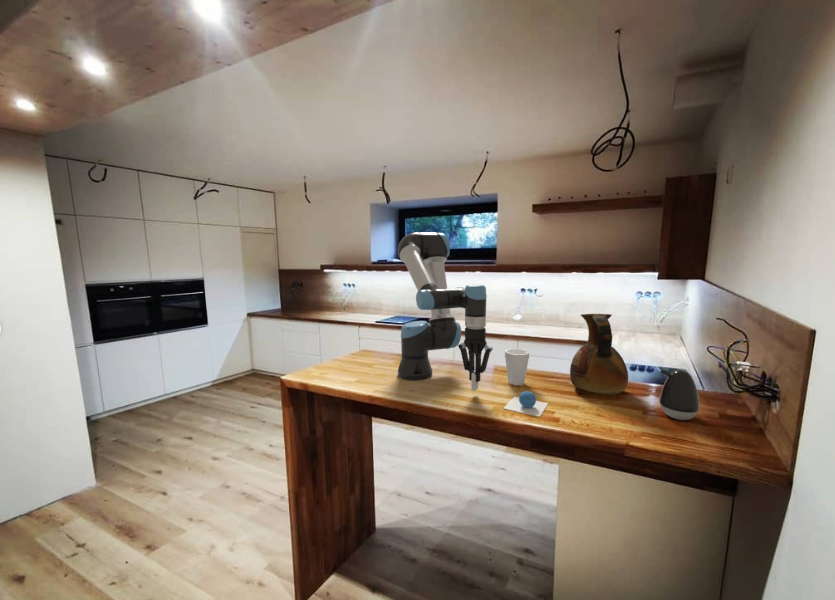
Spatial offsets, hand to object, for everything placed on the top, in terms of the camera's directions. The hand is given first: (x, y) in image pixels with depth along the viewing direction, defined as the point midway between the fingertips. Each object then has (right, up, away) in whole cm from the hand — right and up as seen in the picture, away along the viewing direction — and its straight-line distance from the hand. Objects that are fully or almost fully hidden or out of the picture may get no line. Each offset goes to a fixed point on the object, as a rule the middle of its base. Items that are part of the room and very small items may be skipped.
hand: (474, 389), depth 132 cm
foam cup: (+19, -1, +13) cm, 23 cm away
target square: (+16, -3, -10) cm, 19 cm away
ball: (+16, -1, -11) cm, 20 cm away
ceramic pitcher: (+47, -1, +3) cm, 47 cm away
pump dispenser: (+61, -4, -19) cm, 64 cm away
